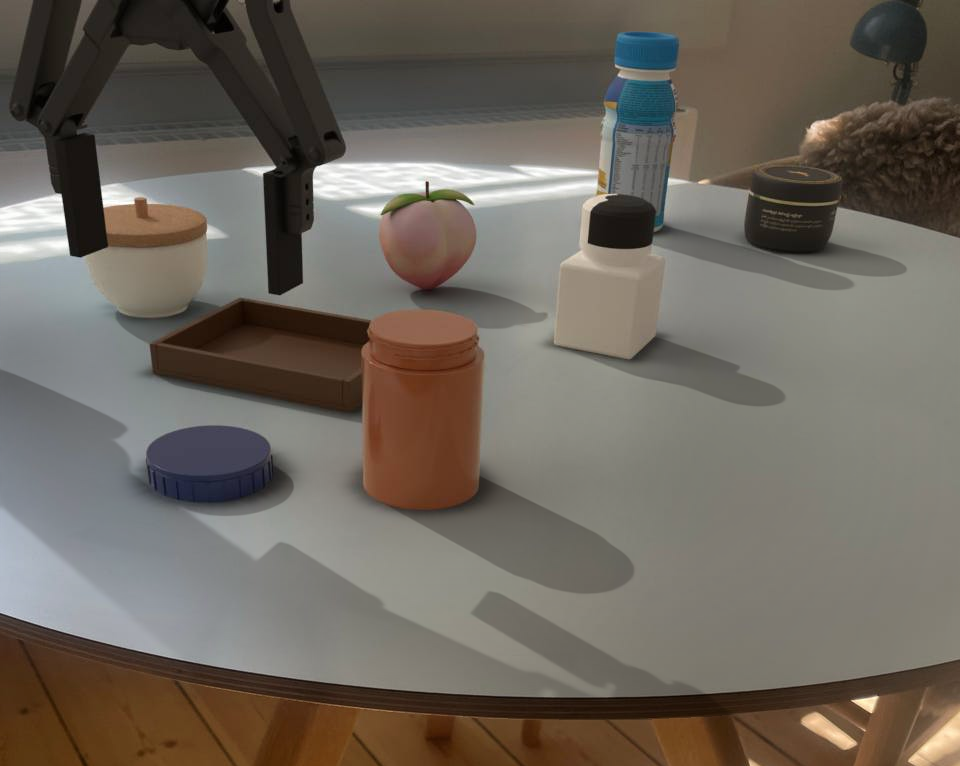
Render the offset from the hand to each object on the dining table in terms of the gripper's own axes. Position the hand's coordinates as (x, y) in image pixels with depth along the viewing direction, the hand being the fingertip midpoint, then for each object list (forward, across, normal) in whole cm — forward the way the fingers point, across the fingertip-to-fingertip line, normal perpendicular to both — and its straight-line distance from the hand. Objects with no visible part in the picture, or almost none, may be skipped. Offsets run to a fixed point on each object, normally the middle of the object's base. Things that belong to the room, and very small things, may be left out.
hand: (185, 270), depth 69 cm
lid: (+12, -1, 0) cm, 12 cm away
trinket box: (+14, +22, -27) cm, 38 cm away
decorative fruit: (+14, +4, -44) cm, 46 cm away
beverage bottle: (+14, -8, -78) cm, 79 cm away
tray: (+13, +4, -20) cm, 24 cm away
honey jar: (+13, -14, -5) cm, 20 cm away
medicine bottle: (+13, -16, -38) cm, 43 cm away
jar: (+13, -26, -80) cm, 85 cm away
